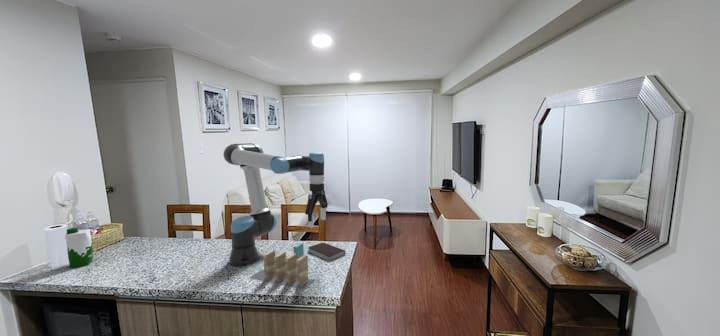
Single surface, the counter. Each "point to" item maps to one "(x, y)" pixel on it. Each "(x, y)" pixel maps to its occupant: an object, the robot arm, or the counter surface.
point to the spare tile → (299, 250)
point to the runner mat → (261, 277)
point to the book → (326, 251)
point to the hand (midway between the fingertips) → (317, 223)
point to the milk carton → (79, 247)
